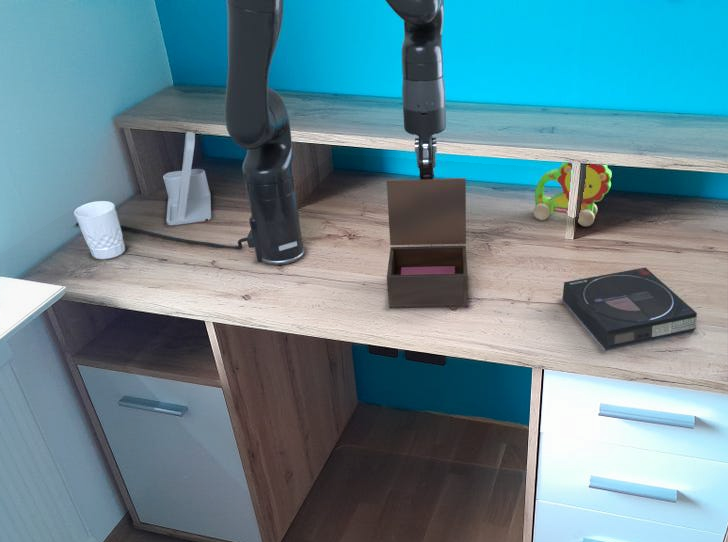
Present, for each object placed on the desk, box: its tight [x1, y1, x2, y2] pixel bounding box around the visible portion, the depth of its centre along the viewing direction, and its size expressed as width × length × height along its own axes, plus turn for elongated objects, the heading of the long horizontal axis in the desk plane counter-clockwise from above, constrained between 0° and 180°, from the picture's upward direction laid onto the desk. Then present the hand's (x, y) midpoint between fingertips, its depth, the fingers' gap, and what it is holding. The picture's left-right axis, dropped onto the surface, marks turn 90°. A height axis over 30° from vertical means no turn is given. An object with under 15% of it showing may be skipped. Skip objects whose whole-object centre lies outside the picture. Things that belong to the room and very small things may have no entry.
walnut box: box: [386, 245, 469, 310], centre depth 129 cm, size 11×14×7 cm
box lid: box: [386, 177, 467, 246], centre depth 129 cm, size 12×14×1 cm
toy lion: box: [533, 162, 613, 227], centre depth 150 cm, size 16×5×15 cm, turn 69°
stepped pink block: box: [401, 266, 455, 275], centre depth 129 cm, size 10×5×4 cm, turn 89°
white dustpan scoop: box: [162, 132, 212, 226], centre depth 160 cm, size 17×10×18 cm, turn 15°
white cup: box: [73, 200, 126, 260], centre depth 145 cm, size 8×8×10 cm
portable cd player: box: [561, 267, 698, 352], centre depth 121 cm, size 16×17×4 cm
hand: (427, 195), depth 131 cm, fingers closed
